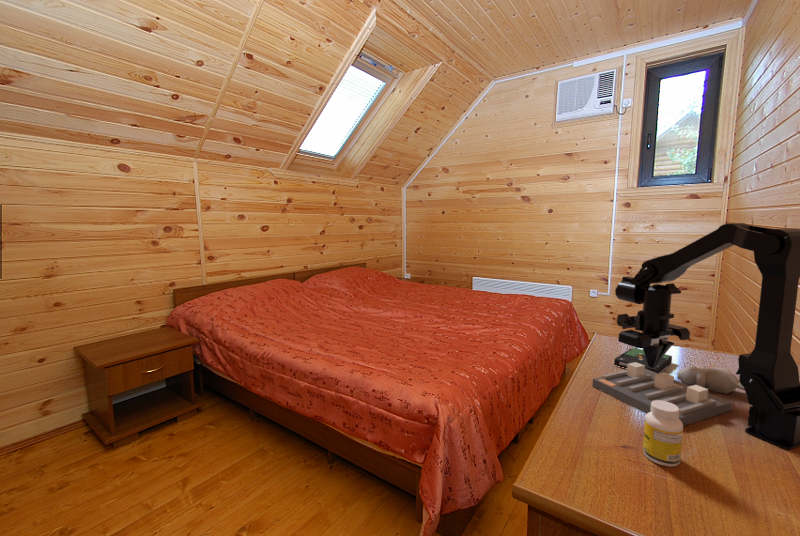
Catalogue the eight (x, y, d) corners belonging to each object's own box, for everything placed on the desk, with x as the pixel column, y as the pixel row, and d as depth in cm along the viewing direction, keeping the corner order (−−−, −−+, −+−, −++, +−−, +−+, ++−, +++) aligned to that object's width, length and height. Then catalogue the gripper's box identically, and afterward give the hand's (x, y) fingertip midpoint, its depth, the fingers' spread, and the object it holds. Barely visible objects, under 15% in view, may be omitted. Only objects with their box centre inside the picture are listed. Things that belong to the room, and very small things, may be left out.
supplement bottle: (644, 444, 68) (648, 395, 67) (680, 456, 65) (685, 404, 63) (640, 459, 64) (644, 406, 63) (679, 472, 61) (684, 417, 59)
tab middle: (672, 388, 85) (674, 376, 85) (664, 390, 84) (665, 378, 84) (662, 384, 88) (663, 372, 87) (654, 386, 87) (654, 374, 86)
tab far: (643, 376, 92) (644, 365, 92) (635, 378, 91) (636, 367, 90) (634, 373, 94) (635, 362, 94) (626, 375, 93) (627, 363, 93)
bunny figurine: (681, 360, 98) (759, 369, 87) (682, 378, 98) (760, 390, 87) (674, 370, 91) (758, 382, 80) (676, 390, 91) (759, 404, 81)
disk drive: (655, 379, 96) (671, 364, 106) (656, 369, 96) (672, 355, 105) (613, 368, 104) (631, 354, 114) (613, 358, 104) (632, 346, 113)
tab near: (706, 402, 79) (708, 389, 79) (697, 405, 78) (699, 391, 78) (694, 397, 81) (695, 384, 81) (685, 399, 80) (687, 387, 80)
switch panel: (731, 410, 79) (732, 398, 79) (676, 428, 73) (677, 415, 73) (642, 374, 98) (643, 364, 98) (592, 386, 92) (593, 375, 91)
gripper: (650, 298, 103) (646, 351, 105) (601, 305, 97) (598, 361, 99) (693, 307, 93) (688, 366, 95) (642, 315, 86) (637, 377, 88)
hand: (651, 367), depth 94 cm, fingers closed
